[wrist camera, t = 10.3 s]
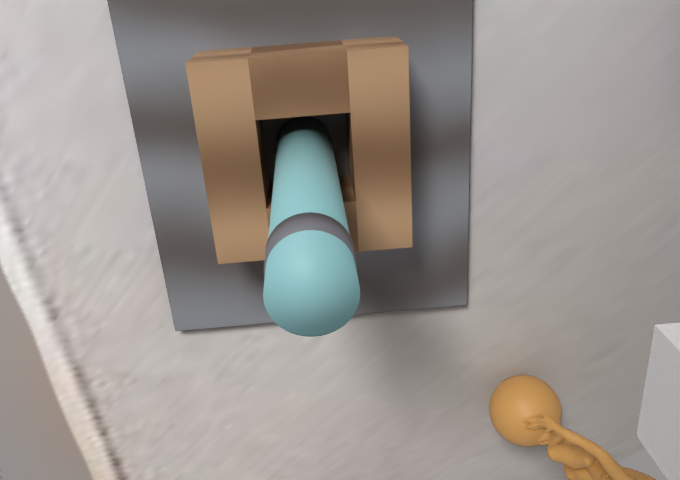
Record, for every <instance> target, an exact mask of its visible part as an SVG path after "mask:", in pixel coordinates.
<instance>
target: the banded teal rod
mask: <svg viewBox="0 0 680 480" xmlns="http://www.w3.org/2000/svg"><path fill="white" fill-rule="evenodd" d="M263 300H264V305H265V308H266V310H267V312H268V314H269V316H270V317H271V319H272V320H273V321H274V322H275V323H276V324H277V325H278V326H280V327H281V328H283V329H284V330H286V331H288V332H290V333H293V334H296V335H300V336H308V337H312V336H322V335H326V334H329V333H332V332H334V331H336V330H338V329H339V328H341V327H342V326H344V325H345V324H346V323H347V322H348V321H349V320H350V319H351V318H352V316H353V315H354V313H355V312H356V310H357V308H358V304H359V301H360V286H359V281H358V275H357V261H356V256H355V251H354V246H353V242H352V239H351V237H350V234H349V229H348V224H347V218H346V213H345V208H344V203H343V198H342V192H341V187H340V182H339V177H338V172H337V167H336V161H335V156H334V151H333V146H332V141H331V136H330V133H329V130H328V129H327V127H326V126H325V125H324V124H323V123H322V122H321V121H320V120H318V119H316V118H314V117H311V116H302V117H294V118H292V119H290V120H289V121H287V122H286V123H285V124H284V125H283V126H282V128H281V129H280V131H279V134H278V139H277V150H276V160H275V171H274V182H273V193H272V203H271V214H270V225H269V236H268V241H267V244H266V250H265V260H264V290H263Z"/></svg>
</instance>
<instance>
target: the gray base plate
mask: <svg viewBox="0 0 680 480" xmlns="http://www.w3.org/2000/svg"><path fill="white" fill-rule="evenodd" d="M107 1H108V6H109V11H110V16H111V21H112V25H113V30H114V35H115V40H116V45H117V50H118V55H119V59H120V64H121V69H122V74H123V79H124V84H125V89H126V93H127V98H128V103H129V108H130V113H131V118H132V123H133V127H134V132H135V137H136V142H137V147H138V152H139V157H140V161H141V166H142V171H143V176H144V181H145V186H146V191H147V195H148V200H149V205H150V210H151V215H152V220H153V225H154V229H155V234H156V239H157V244H158V249H159V254H160V259H161V263H162V268H163V273H164V278H165V283H166V288H167V293H168V297H169V302H170V307H171V312H172V317H173V322H174V327H175V331H183V330H194V329H205V328H216V327H227V326H238V325H249V324H260V323H271V322H274V321H273V320H272V319H271V317H270V316H269V314H268V312H267V310H266V308H265V305H264V300H263V290H264V260H265V250H266V244H267V241H268V236H269V225H270V214H271V203H272V193H273V182H274V171H275V160H276V150H277V139H278V134H279V131H280V129H281V128H282V126H283V125H284V124H285V123H286V122H287V121H289V120H290V119H292V118H294V117H302V116H311V117H314V118H316V119H318V120H320V121H321V122H322V123H323V124H324V125H325V126H326V127H327V129H328V130H329V133H330V136H331V141H332V146H333V151H334V156H335V161H336V167H337V172H338V177H339V182H340V187H341V192H342V198H343V203H344V208H345V213H346V218H347V224H348V229H349V234H350V237H351V239H352V242H353V246H354V251H355V256H356V261H357V275H358V281H359V286H360V301H359V304H358V308H357V310H356V312H355V313H354V315H359V314H370V313H380V312H391V311H402V310H413V309H424V308H435V307H446V306H457V305H467V267H468V216H469V165H470V114H471V62H472V11H473V0H107Z"/></svg>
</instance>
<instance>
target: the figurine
mask: <svg viewBox="0 0 680 480" xmlns="http://www.w3.org/2000/svg"><path fill="white" fill-rule="evenodd" d="M489 410H490V417H491V420H492V423H493V425H494V427H495V428H496V430H497V431H498V432H499V434H500V435H501V436H502V437H504V438H505V439H506V440H508V441H509V442H511V443H513V444H516V445H519V446H526V447H530V446H537V445H540V444H541V445H546V444H548V446H547V454H548V456H549V458H550V459H551V460H553V461H555V462H560V463H563V464H564V472H565V475H566V477H567V478H568V479H569V480H655V479H654V478H652V477H651V476H649V475H646V474H644V473H641V472H639V471H636V470H633V469H630V468H625V467H622V466H620V465H619V464H618V463H617V462H616V461H615V460H614V459H613V458H612V457H611V456H610V455H609V454H608V453H607V452H606V451H605V450H604V449H603V448H601V447H600V446H599V445H597V444H595V443H594V442H592V441H590V440H588V439H586V438H584V437H582V436H580V435H579V434H577V433H575V432H573V431H571V430H568V429H566V428H563V427H562V425H561V424H560V421H561V406H560V402H559V399H558V397H557V395H556V393H555V392H554V391H553V389H552V388H551V387H550V386H549V385H548V384H547V383H545V382H544V381H542V380H540V379H538V378H536V377H533V376H528V375H517V376H513V377H510V378H508V379H506V380H504V381H503V382H501V383H500V384H499V385H498V386H497V388H496V389H495V390H494V392H493V394H492V397H491V400H490V407H489Z"/></svg>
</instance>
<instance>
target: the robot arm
mask: <svg viewBox="0 0 680 480" xmlns="http://www.w3.org/2000/svg"><path fill="white" fill-rule="evenodd" d="M636 436H637V437H638V439H639V440H640V441H641V443H642V444H643V446H644V447H645V448H646V450H647V451H648V453H649V454H650V456H651V457H652V458H653V460H654V461H655V463H656V464H657V466H658V467H659V468H660V470H661V471H662V473H663V474H664V476H665V477H666V478H667V480H680V323H670V324H659V325H655V326H654V332H653V338H652V344H651V350H650V356H649V362H648V368H647V374H646V380H645V386H644V392H643V398H642V404H641V410H640V416H639V422H638V428H637V434H636ZM0 480H4V479H3V477H2V474H1V472H0Z"/></svg>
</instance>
